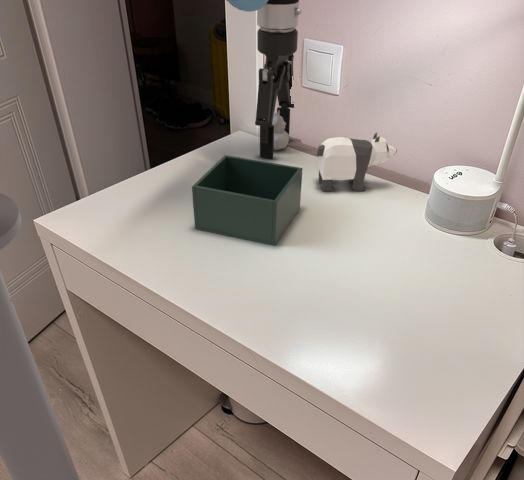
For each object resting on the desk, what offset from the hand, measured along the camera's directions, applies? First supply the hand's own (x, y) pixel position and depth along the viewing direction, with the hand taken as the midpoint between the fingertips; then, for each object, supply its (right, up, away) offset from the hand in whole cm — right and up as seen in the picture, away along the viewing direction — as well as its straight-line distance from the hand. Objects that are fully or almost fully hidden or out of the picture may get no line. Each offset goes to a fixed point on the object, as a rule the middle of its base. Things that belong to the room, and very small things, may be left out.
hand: (274, 148), depth 114 cm
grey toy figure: (0, 0, 0) cm, 0 cm away
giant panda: (+14, -12, -12) cm, 22 cm away
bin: (-5, -20, -22) cm, 31 cm away
